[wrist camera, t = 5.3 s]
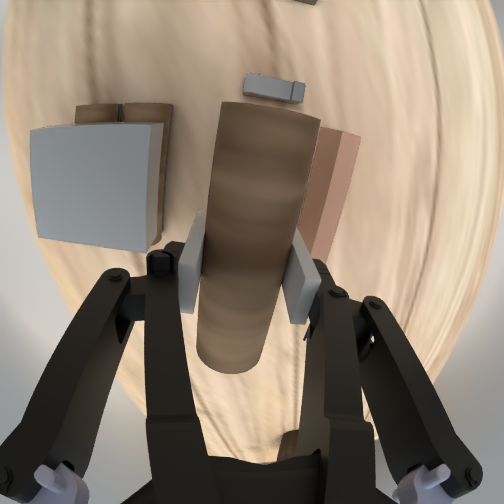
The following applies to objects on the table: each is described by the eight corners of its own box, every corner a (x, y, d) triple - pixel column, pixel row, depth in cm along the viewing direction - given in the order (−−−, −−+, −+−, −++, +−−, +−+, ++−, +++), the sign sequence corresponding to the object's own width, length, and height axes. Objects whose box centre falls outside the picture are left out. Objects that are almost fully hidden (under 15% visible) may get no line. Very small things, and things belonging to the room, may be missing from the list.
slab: (51, 125, 21) (30, 130, 17) (164, 123, 23) (151, 124, 19) (55, 223, 27) (38, 237, 23) (156, 235, 28) (146, 253, 25)
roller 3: (224, 104, 14) (218, 99, 9) (307, 119, 14) (334, 121, 10) (199, 322, 21) (193, 369, 17) (258, 329, 22) (263, 376, 17)
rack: (266, -18, 19) (269, -34, 15) (315, -7, 19) (326, -21, 16) (242, 94, 26) (243, 90, 22) (295, 104, 27) (304, 102, 23)
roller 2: (133, 103, 26) (118, 103, 21) (175, 104, 27) (166, 103, 22) (128, 226, 33) (115, 245, 29) (165, 230, 34) (156, 249, 30)
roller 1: (88, 105, 25) (68, 106, 20) (124, 104, 26) (108, 103, 21) (87, 222, 32) (71, 238, 28) (120, 224, 33) (106, 242, 29)
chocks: (89, 105, 25) (88, 105, 25) (275, 117, 28) (276, 116, 27) (88, 222, 32) (87, 223, 32) (251, 242, 35) (252, 243, 35)
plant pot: (261, 440, 67) (264, 485, 53) (285, 422, 61) (292, 474, 47) (302, 443, 71) (309, 484, 57) (329, 424, 64) (339, 470, 50)
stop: (321, 127, 28) (342, 131, 22) (336, 131, 29) (361, 136, 22) (292, 247, 36) (303, 277, 30) (306, 249, 36) (320, 279, 30)
